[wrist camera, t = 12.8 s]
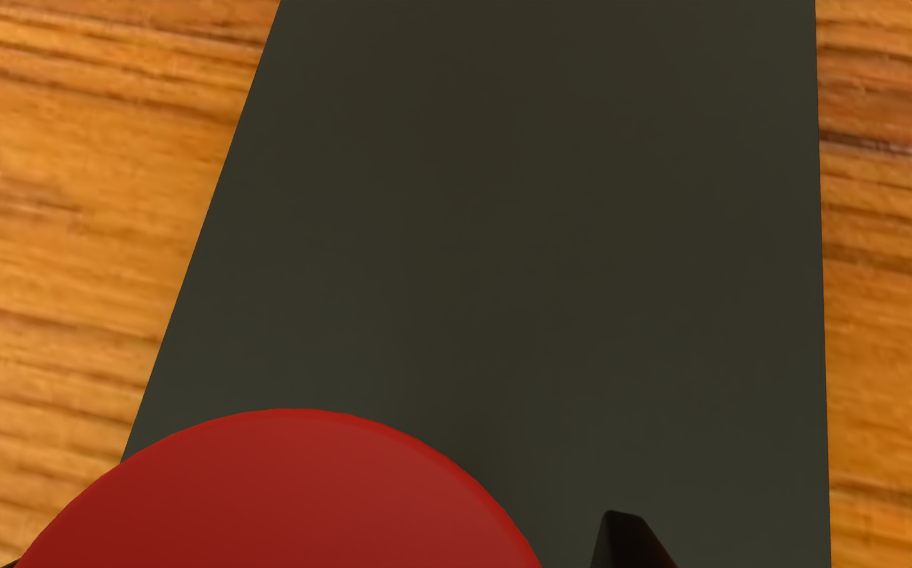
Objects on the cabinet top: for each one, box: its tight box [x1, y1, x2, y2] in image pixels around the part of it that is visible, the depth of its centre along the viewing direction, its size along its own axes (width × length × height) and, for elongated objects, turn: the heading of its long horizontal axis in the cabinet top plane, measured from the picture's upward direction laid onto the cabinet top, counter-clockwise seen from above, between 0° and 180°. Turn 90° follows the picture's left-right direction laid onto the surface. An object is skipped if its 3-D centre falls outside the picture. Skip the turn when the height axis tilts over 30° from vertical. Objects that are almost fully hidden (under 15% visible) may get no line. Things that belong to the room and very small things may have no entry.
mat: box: [120, 0, 831, 568], centre depth 18 cm, size 28×14×1 cm, turn 170°
